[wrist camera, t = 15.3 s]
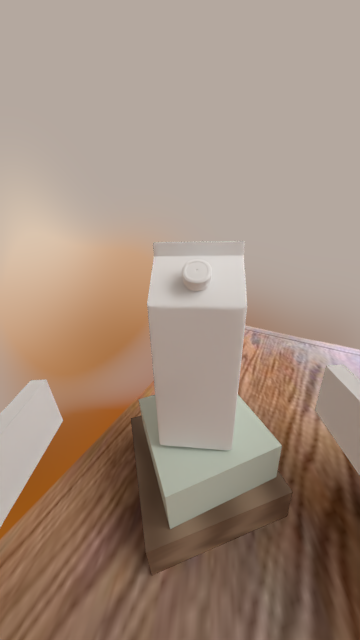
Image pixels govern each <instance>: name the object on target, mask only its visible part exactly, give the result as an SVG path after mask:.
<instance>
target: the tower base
mask: <svg viewBox="0 0 360 640" xmlns="http://www.w3.org/2000/svg"><path fill="white" fill-rule="evenodd" d="M131 423H132V432H133V441H134V450H135V459H136V469H137V478H138V487H139V496H140V505H141V514H142V523H143V532H144V541H145V550H146V555H147V559H148V563H149V566H150V570H151V574H152V575H154V574H156V573H158V572H161V571H163V570H165V569H167V568H170V567H172V566H174V565H177V564H179V563H181V562H183V561H186V560H188V559H190V558H192V557H195V556H197V555H199V554H202V553H204V552H206V551H208V550H211V549H213V548H215V547H217V546H220V545H222V544H224V543H227V542H229V541H231V540H233V539H236V538H238V537H240V536H242V535H245V534H247V533H249V532H252V531H254V530H256V529H258V528H261V527H263V526H265V525H267V524H270V523H272V522H274V521H277V520H279V519H281V518H283V517H286V516H287V513H288V509H289V505H290V501H291V497H292V493H293V492H292V490H291V489H290V487H289V486H288V484H287V483H286V482H285V480H284V479H283V477H282V476H281V474H280V473H279V471H278V470H277V476H276V477H275V478H273V479H271V480H269V481H267V482H265V483H263V484H261V485H259V486H257V487H255V488H253V489H251V490H249V491H247V492H245V493H243V494H241V495H239V496H237V497H235V498H233V499H231V500H229V501H227V502H225V503H222V504H220V505H218V506H216V507H214V508H212V509H210V510H208V511H206V512H204V513H202V514H200V515H198V516H196V517H194V518H192V519H190V520H188V521H186V522H184V523H182V524H180V525H178V526H176V527H174V528H172V529H170V527H169V523H168V519H167V515H166V511H165V507H164V503H163V500H162V496H161V492H160V488H159V484H158V480H157V476H156V473H155V469H154V465H153V461H152V457H151V453H150V449H149V445H148V442H147V438H146V434H145V430H144V426H143V420H142V416H138V417H135V418H131Z"/></svg>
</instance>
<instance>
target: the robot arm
mask: <svg viewBox="0 0 360 640" xmlns="http://www.w3.org/2000/svg"><path fill="white" fill-rule="evenodd" d="M315 411H316V412H317V414H318V415H319V417H320V418H321V420H322V421H323V423H324V424H325V426H326V427H327V428H328V430H329V431H330V433H331V434H332V436H333V437H334V439H335V440H336V442H337V443H338V445H339V446H340V448H341V449H342V451H343V452H344V453H345V455H346V456H347V458H348V459H349V461H350V462H351V464H352V465H353V467H354V468H355V470H356V471H357V473H358V474H359V476H360V380H359V379H358V378H357V377H356V376H355V375H354V374H353V373H352V372H350V371H349V370H348V369H347V368H346V367H345V366H344V365H328V366H326V368H325V372H324V376H323V380H322V384H321V388H320V392H319V396H318V400H317V404H316V408H315ZM62 422H63V419H62V417H61V414H60V412H59V409H58V407H57V404H56V402H55V399H54V397H53V395H52V392H51V390H50V387H49V385H48V382H47V380H31V381H30V382H29V383H28V384H27V385H26V386H25V387H24V388H23V389H22V391H21V392H20V393H19V394H18V395H17V396H16V397H15V398H14V399H13V400H12V401H11V402H10V403H9V405H8V406H7V407H6V408H5V409H4V410H3V411H2V412H1V413H0V527H1V525H2V524H3V522H4V520H5V518H6V517H7V515H8V513H9V512H10V510H11V508H12V507H13V505H14V503H15V502H16V500H17V498H18V496H19V495H20V493H21V491H22V490H23V488H24V486H25V484H26V483H27V481H28V479H29V477H30V476H31V474H32V473H33V471H34V469H35V468H36V466H37V464H38V462H39V461H40V459H41V457H42V456H43V454H44V452H45V450H46V448H47V447H48V445H49V444H50V442H51V440H52V439H53V437H54V435H55V434H56V432H57V430H58V428H59V427H60V425H61V423H62Z"/></svg>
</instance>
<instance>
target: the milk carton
mask: <svg viewBox="0 0 360 640" xmlns="http://www.w3.org/2000/svg"><path fill="white" fill-rule="evenodd" d="M244 246H245V242H244V241H222V242H157V243H156V242H154V243H153V249H154V260H153V267H152V274H151V282H150V288H149V295H148V302H147V306H148V317H149V329H150V341H151V352H152V364H153V374H154V386H155V398H156V409H157V421H158V432H159V443H160V445H166V446H178V447H191V448H203V449H215V450H231V449H232V442H233V433H234V423H235V414H236V405H237V395H238V386H239V377H240V367H241V358H242V349H243V339H244V330H245V320H246V311H247V296H246V282H245V268H244Z"/></svg>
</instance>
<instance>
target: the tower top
mask: <svg viewBox="0 0 360 640" xmlns="http://www.w3.org/2000/svg"><path fill="white" fill-rule="evenodd" d="M139 404H140V410H141V415H142V420H143V426H144V430H145V434H146V438H147V442H148V445H149V449H150V453H151V457H152V461H153V465H154V469H155V473H156V476H157V480H158V484H159V488H160V492H161V496H162V500H163V503H164V507H165V511H166V515H167V519H168V523H169V527H170V529H172V528H174V527H176V526H178V525H180V524H182V523H184V522H186V521H188V520H190V519H192V518H194V517H196V516H198V515H200V514H202V513H204V512H206V511H208V510H210V509H212V508H214V507H216V506H218V505H220V504H222V503H225V502H227V501H229V500H231V499H233V498H235V497H237V496H239V495H241V494H243V493H245V492H247V491H249V490H251V489H253V488H255V487H257V486H259V485H261V484H263V483H265V482H267V481H269V480H271V479H273V478H275V477H276V476H277V470H278V465H279V459H280V454H281V448H282V445H281V444H280V443H279V441H278V440H277V439H276V438H275V437H274V436H273V435H272V433H271V432H270V431H269V430H268V429H267V428H266V426H265V425H264V424H263V423H262V422H261V421H260V420H259V418H258V417H257V416H256V415H255V414H254V413H253V411H252V410H251V409H250V408H249V407H248V406H247V404H246V403H245V402H244V401H243V400H242V399H241V398H240V396H239V395H237V405H236V414H235V423H234V433H233V442H232V449H231V450H215V449H203V448H191V447H178V446H166V445H160V443H159V432H158V421H157V409H156V398H155V395H152V396H149V397H146V398H142V399H139Z"/></svg>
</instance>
